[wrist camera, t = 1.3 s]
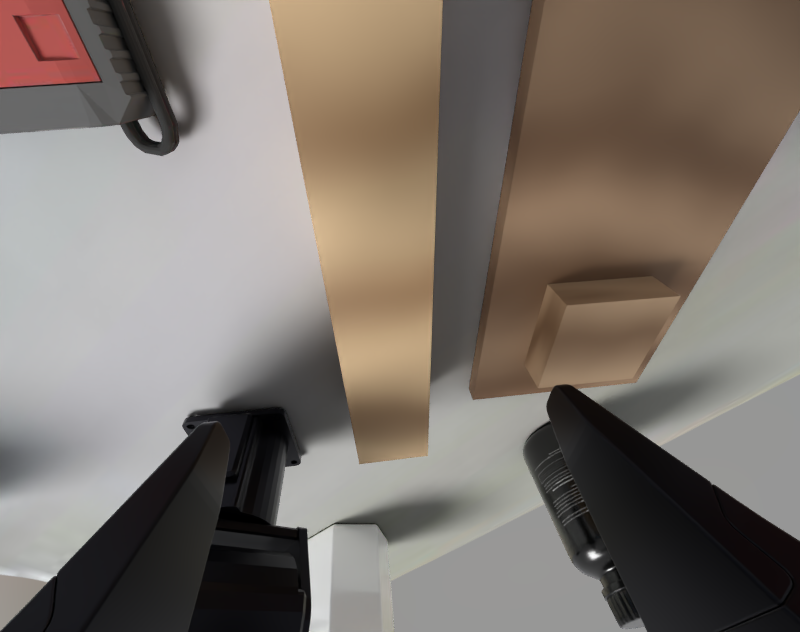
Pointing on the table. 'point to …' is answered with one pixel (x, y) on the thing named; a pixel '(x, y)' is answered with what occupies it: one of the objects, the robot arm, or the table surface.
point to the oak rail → (371, 196)
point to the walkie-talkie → (79, 71)
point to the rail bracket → (625, 178)
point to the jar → (350, 580)
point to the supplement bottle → (576, 523)
